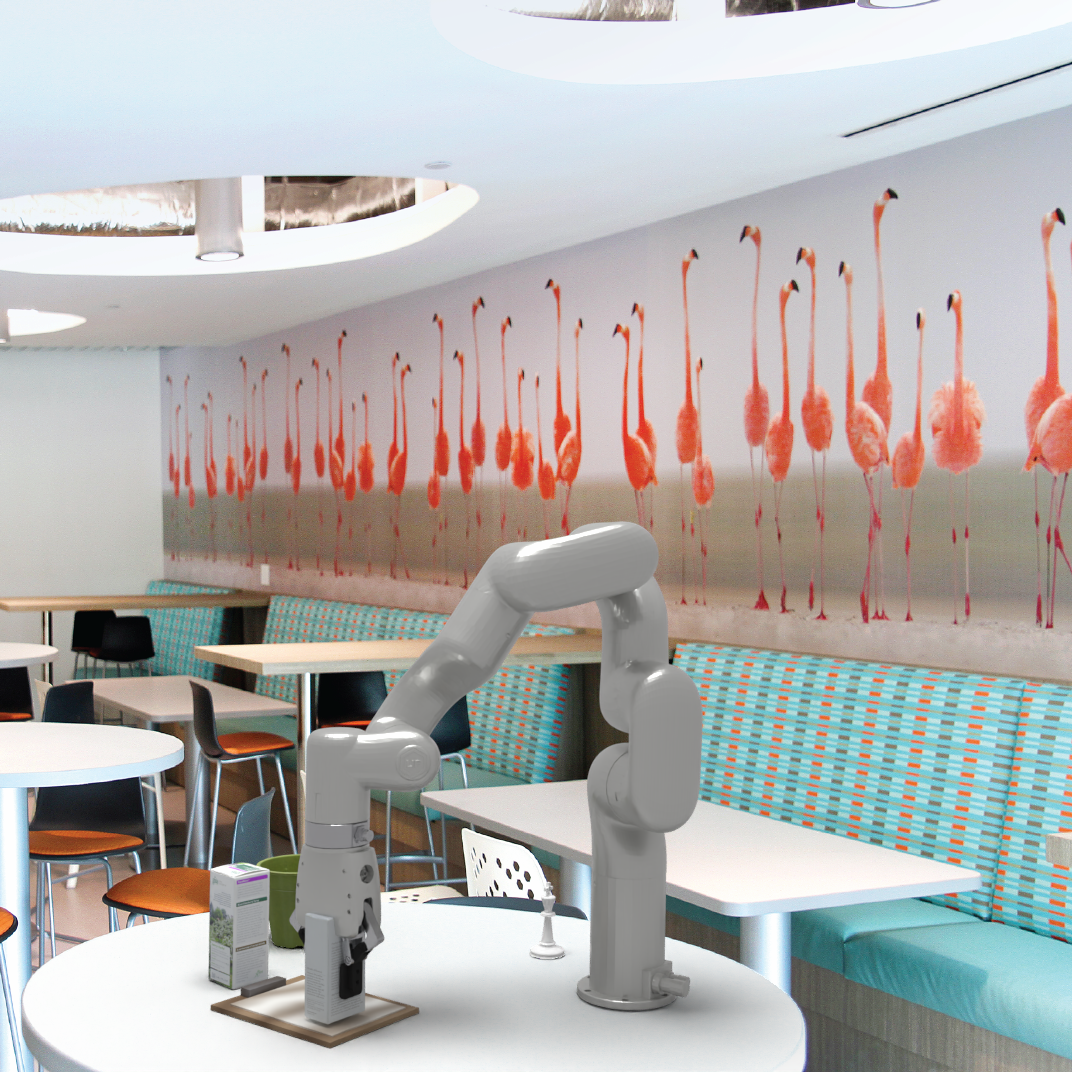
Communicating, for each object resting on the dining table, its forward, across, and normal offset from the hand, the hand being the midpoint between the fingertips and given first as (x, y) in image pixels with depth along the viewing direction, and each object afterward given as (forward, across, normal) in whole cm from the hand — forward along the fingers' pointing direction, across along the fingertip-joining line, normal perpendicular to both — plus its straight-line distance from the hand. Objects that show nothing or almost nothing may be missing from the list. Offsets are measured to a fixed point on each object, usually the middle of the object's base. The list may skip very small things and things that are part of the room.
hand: (334, 990), depth 152 cm
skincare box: (+3, 0, 0) cm, 3 cm away
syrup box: (+4, +21, -4) cm, 22 cm away
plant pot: (+4, +28, -21) cm, 35 cm away
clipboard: (+4, +5, -2) cm, 7 cm away
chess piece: (+5, -3, -39) cm, 39 cm away
